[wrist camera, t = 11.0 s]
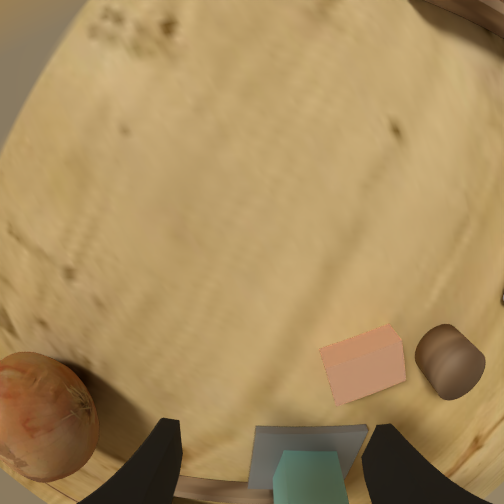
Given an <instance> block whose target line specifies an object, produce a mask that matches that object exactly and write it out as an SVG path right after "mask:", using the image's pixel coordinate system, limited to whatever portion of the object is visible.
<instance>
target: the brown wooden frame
mask: <svg viewBox="0 0 504 504" xmlns="http://www.w3.org/2000/svg"><path fill="white" fill-rule="evenodd" d="M174 496H176V497H183V498H190V499H197V500H205V501H215V502H226V503H240V504H274V495H273V489H248V482H233V481H221V480H210V479H202V478H194V477H186V476H180V475H179V478H178V482H177V485H176V489H175V492H174Z"/></svg>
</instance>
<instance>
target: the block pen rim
mask: <svg viewBox="0 0 504 504" xmlns="http://www.w3.org/2000/svg"><path fill="white" fill-rule="evenodd" d="M424 1H426V2H429V3H431V4H434V5H436V6H439V7H441V8H444V9H446V10H448V11H451V12H453V13H455V14H457V15H459V16H461V17H464V18H466V19H468V20H470V21H472V22H474V23H476V24H478V25H480V26H482V27H484V28H485V29H487V30H489V31H491V32H493V33H495V34H496V35H498V36H500V37H502V38H503V39H504V0H424Z"/></svg>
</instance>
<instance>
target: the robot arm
mask: <svg viewBox="0 0 504 504" xmlns="http://www.w3.org/2000/svg"><path fill="white" fill-rule="evenodd" d="M503 301H504V296H503ZM182 455H183V452H182V443H181V433H180V422H179V420H174V419H168V418H161V419H160V420H159V422H158V423H157V425H156V426H155V428H154V429H153V430H152V432H151V433H150V435H149V436H148V437H147V439H146V440H145V441H144V442H143V444H142V445H141V446H140V447H139V448H138V450H137V451H136V452H135V453H134V454H133V456H132V457H131V458H130V459H129V460H128V461H127V462H126V463H125V464H124V465H123V466H122V467H121V468H120V469H119V470H118V471H117V472H116V473H115V474H114V475H113V476H112V477H111V478H110V479H109V480H108V481H107V482H105V483H104V484H103V485H102V486H101V487H99V488H98V489H97V490H96V491H94V492H93V493H91V494H90V495H89V496H87V497H86V498H84V499H83V500H82V501H80V502H78V503H77V504H171V503H172V499H173V496H174V492H175V489H176V485H177V482H178V478H179V474H180V468H181V461H182ZM361 458H362V465H363V472H364V478H365V482H366V485H367V488H368V492H369V495H370V498H371V502H372V504H492V503H489V502H487V501H485V500H483V499H481V498H479V497H477V496H475V495H473V494H471V493H470V492H468V491H466V490H465V489H463V488H461V487H460V486H458V485H457V484H456V483H454V482H453V481H451V480H450V479H448V478H447V477H446V476H445V475H443V474H442V473H441V472H440V471H439V470H437V469H436V468H435V467H434V466H433V465H432V464H431V463H429V462H428V461H427V460H426V459H425V458H424V457H423V456H422V455H421V454H420V453H419V452H418V451H417V450H416V449H415V448H414V447H413V446H412V445H411V444H410V443H409V442H408V441H407V440H406V439H405V438H404V437H403V436H402V434H401V433H400V432H399V431H398V430H397V429H396V428H395V427H394V426H393V425H392V424H382V425H377V426H376V428H375V430H374V432H373V434H372V436H371V439H370V441H369V443H368V445H367V447H366V449H365V451H364V453H363V455H362V457H361Z"/></svg>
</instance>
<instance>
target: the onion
mask: <svg viewBox="0 0 504 504" xmlns="http://www.w3.org/2000/svg"><path fill="white" fill-rule="evenodd" d="M98 440H99V420H98V415H97V411H96V408H95V405H94V402H93V400H92V397H91V395H90V393H89V392H88V390H87V388H86V387H85V385H84V384H83V382H82V381H81V380H80V378H79V377H78V376H77V375H76V374H75V373H74V372H73V371H72V370H71V369H70V368H68V367H67V366H65V365H64V364H62V363H60V362H58V361H56V360H54V359H52V358H50V357H47V356H44V355H41V354H38V353H34V352H18V353H14V354H11V355H9V356H7V357H5V358H4V359H2V360H1V361H0V460H1V461H3V462H4V463H5V464H6V465H7V466H8V467H10V468H11V469H12V470H14V471H16V472H17V473H19V474H21V475H22V476H24V477H26V478H28V479H31V480H33V481H36V482H43V483H44V482H52V481H56V480H59V479H62V478H65V477H67V476H69V475H71V474H73V473H75V472H76V471H78V470H79V469H80V468H81V467H83V466H84V465H85V464H86V463H87V461H88V460H89V459H90V457H91V456H92V454H93V452H94V450H95V448H96V446H97V443H98Z"/></svg>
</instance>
